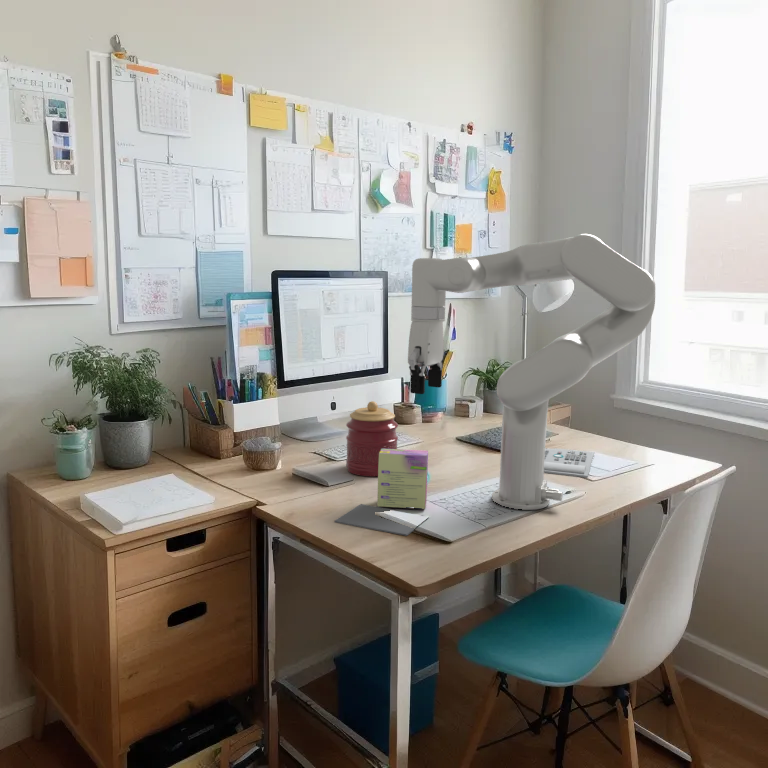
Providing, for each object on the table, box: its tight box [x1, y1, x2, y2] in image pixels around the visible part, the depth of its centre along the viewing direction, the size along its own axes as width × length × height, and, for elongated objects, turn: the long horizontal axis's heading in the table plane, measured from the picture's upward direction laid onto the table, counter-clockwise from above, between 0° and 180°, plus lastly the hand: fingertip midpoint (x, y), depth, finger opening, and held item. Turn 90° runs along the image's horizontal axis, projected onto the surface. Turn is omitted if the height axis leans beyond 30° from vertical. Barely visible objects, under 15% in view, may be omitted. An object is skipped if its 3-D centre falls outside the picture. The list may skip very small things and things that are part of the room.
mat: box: [334, 503, 415, 537], centre depth 149 cm, size 16×12×1 cm
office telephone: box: [544, 447, 596, 479], centre depth 194 cm, size 23×3×20 cm
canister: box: [345, 400, 399, 477], centre depth 182 cm, size 13×13×18 cm
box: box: [376, 448, 429, 510], centre depth 157 cm, size 10×6×12 cm, turn 84°
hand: (426, 390), depth 165 cm, fingers open, 9 cm apart
